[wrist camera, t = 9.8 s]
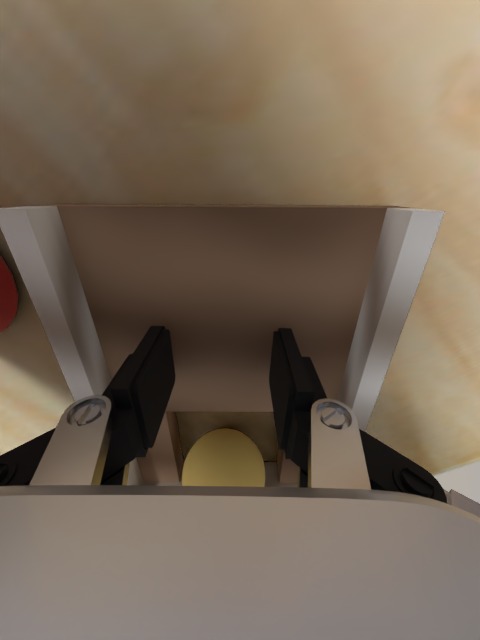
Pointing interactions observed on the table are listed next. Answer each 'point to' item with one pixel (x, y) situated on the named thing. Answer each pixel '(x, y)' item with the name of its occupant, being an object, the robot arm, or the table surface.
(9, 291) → the beer can
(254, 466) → the ball
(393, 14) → the table surface
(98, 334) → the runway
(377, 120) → the table surface
